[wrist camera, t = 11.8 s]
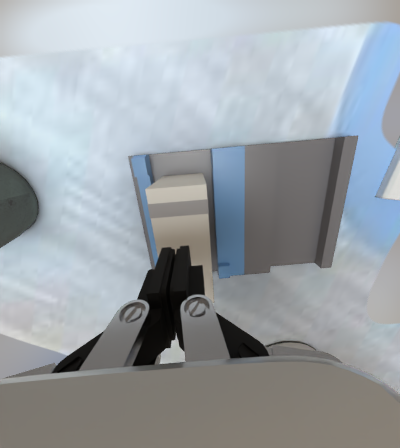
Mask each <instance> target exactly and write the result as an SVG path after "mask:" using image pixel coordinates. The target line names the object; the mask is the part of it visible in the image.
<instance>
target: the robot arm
mask: <svg viewBox="0 0 400 448" xmlns="http://www.w3.org/2000/svg"><path fill="white" fill-rule="evenodd" d="M176 333H177V338H178V340H179V346H180V348H181V349H182V350H183V351H184V352H185V361H186V362H181V363H169V364H160V360H161V352H162V351H164V350H165V349H166V348H171V340H175V336H176ZM0 448H400V394H399V393H398V392H396V391H395V390H394V389H393V388H391V387H390V386H389V385H387V384H386V383H385V382H383V381H381V380H380V379H378V378H376V377H375V376H373V375H371V374H369V373H366V372H364V371H362V370H360V369H357V368H354V367H352V366H349V365H346V364H343V363H342V362H341V361H340V360H339V359H337V358H336V357H334V356H332V355H331V354H328V353H324V352H319V351H316V350H314V349H313V348H312V347H310V346H307V345H305V344H301V343H293V342H289V343H280V344H275V345H272V346H269V347H265V346H264V345H263V344H262V343H260V342H259V341H258V340H257V339H255V338H254V337H252V336H251V335H249V334H248V333H246V332H244V331H243V330H241V329H240V328H238V327H237V326H235V325H234V324H232V323H231V322H229V321H228V320H226V319H225V318H223V317H222V316H220V315H219V314H217V313H216V312H215V309H214V306H213V303H212V301H211V299H209V298H208V297H207V296H205V287H204V275H203V265H197V266H192V265H191V257H190V248H189V245H187V246H180V248H179V249H177V251H176V254H175V249H172V248H171V247H164V248H162V249H161V252H160V254H159V257H158V260H157V263H156V266H155V269H151V270H149V271H148V273H147V275H146V278H145V281H144V283H143V286H142V288H141V291H140V293H139V296H138V299H137V300H133V301H130V302H128V303H126V304H124V305H123V306H122V307H121V308H120V309H119V310H118V311H117V313H116V314H115V316H114V317H113V319H112V320H111V322H110V323H109V325H108V326H107V328H106V329H105V331H104V332H102V333H101V334H99V335H98V336H96V337H95V338H93V339H92V340H90V341H89V342H87V343H86V344H85V345H83V346H82V347H80V348H79V349H77V350H76V351H74V352H73V353H71V354H70V355H69V356H67V357H66V358H65V359H64V360H62V361H61V362H60V363H59V364H58V365H57V366H56V364H55V363H53V364H49V365H46V366H43V367H39V368H36V369H33V370H29V371H26V372H23V373H19V374H16V375H13V376H9V377H6V378H3V379H0Z"/></svg>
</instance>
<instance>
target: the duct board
mask: <svg viewBox="0 0 400 448" xmlns="http://www.w3.org/2000/svg"><path fill="white" fill-rule="evenodd" d="M357 140H358V136H348V137H339V138H328V139H317V140H306V141H295V142H284V143H271V144H260V145H248V146H237V147H226V148H215V149H206V150H195V151H184V152H173V153H162V154H151V155H138V156H128V157H129V162H130V167H131V172H132V176H133V181H134V186H135V191H136V195H137V200H138V205H139V209H140V214H141V219H142V224H143V228H144V233H145V238H146V243H147V247H148V252H149V257H150V261H151V266H152V269H155V266H156V263H157V260H158V255H157V249H156V244H155V239H154V233H153V228H152V223H151V218H150V215H149V210H148V205H147V204H148V202H147V196H146V191H145V189H146V188H148V187H149V186H151V185H152V184H153V183H155V182H156V181H157V180H159V179H160V178H161V177H163V176H173V175H185V174H197V173H203V176H204V179H205V182H206V186H207V198H208V209H209V214H208V216H209V231H210V247H211V262H212V271H218V275H219V279H220V278H230V276H233V275H245V274H257V273H269V272H270V266H279V265H291V264H303V263H316V264H317V265H318V266H319V267H320V268H329V267H331V266H332V261H333V256H334V251H335V246H336V242H337V237H338V232H339V227H340V222H341V217H342V213H343V208H344V203H345V198H346V193H347V189H348V184H349V179H350V174H351V169H352V164H353V160H354V155H355V150H356V145H357Z"/></svg>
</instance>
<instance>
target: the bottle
mask: <svg viewBox="0 0 400 448" xmlns="http://www.w3.org/2000/svg"><path fill="white" fill-rule="evenodd" d="M37 215H38V202H37V199H36V196H35V193H34V191H33V190H32V188H31V187H30V185H29V184H28V183H27V181H26V180H25V179H24V178H23V177H21V176H20V175H19V174H18V173H17V172H16V171H14V170H12V169H11V168H9V167H7V166H5V165H3V164H1V163H0V248H1V247H3V246H4V245H6V244H7V243H9V242H10V241H12V240H14V239H15V238H17V237H18V236H20V235H21V234H22V233H23V232H24V231H25V230H26V229H27V228H28V227H29V226H31V225H32V224H33V223H34V222H35V219H36V217H37Z"/></svg>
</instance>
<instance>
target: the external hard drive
mask: <svg viewBox="0 0 400 448" xmlns="http://www.w3.org/2000/svg"><path fill="white" fill-rule="evenodd" d="M394 148H395V149H396V152H395V154H394V156H393V158H392V161H391V163H390V165H389V167H388V169H387V172H386V174H385V176H384V178H383V180H382V183H381V185H380V187H379V189H378V192H377V194H376V196H375V197H379V198H384V199H392V200H400V136H399V139H398V141H397V143H396V145H395V147H394Z"/></svg>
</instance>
